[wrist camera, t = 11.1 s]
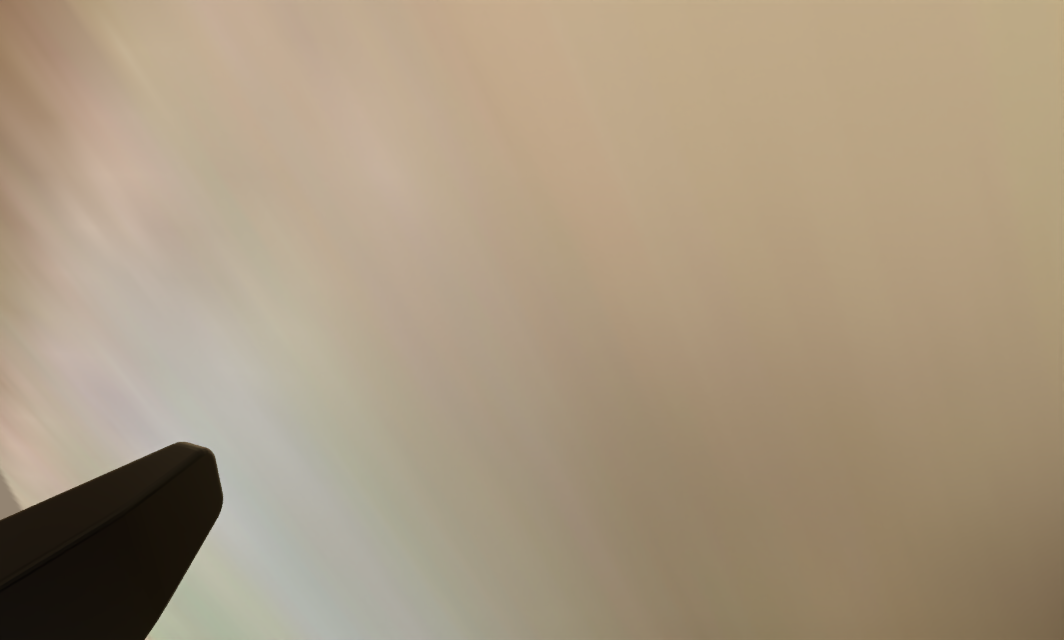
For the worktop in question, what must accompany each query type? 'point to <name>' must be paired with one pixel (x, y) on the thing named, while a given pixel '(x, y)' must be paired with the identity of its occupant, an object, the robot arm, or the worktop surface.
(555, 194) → the worktop surface
